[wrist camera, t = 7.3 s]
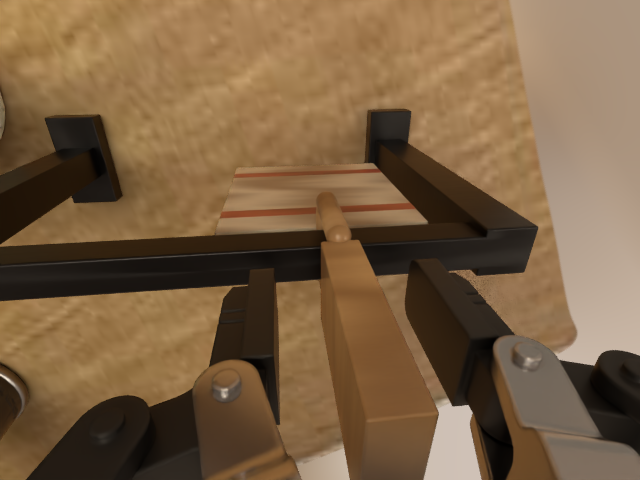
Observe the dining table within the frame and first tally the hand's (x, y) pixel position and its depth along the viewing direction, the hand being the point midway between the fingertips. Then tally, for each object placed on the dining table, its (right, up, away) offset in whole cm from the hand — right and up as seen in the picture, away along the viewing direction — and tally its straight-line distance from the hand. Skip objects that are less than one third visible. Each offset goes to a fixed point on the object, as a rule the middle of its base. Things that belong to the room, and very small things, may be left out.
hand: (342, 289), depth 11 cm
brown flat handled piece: (-2, +6, +12) cm, 14 cm away
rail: (-7, +8, +16) cm, 19 cm away
